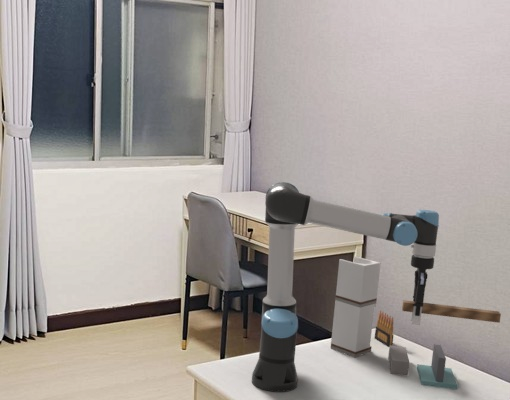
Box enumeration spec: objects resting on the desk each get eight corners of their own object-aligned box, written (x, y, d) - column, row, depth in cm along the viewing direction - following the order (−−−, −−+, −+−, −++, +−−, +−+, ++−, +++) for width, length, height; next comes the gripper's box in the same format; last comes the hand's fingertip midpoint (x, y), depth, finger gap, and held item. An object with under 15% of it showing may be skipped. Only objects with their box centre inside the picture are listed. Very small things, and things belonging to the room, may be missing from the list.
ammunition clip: (392, 347, 276) (395, 317, 275) (388, 347, 276) (391, 317, 274) (378, 338, 286) (381, 309, 284) (374, 338, 285) (377, 309, 284)
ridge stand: (421, 384, 239) (424, 356, 238) (416, 368, 255) (420, 341, 254) (457, 389, 238) (460, 361, 236) (450, 372, 253) (453, 345, 252)
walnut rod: (402, 311, 239) (403, 302, 238) (402, 308, 242) (403, 300, 241) (499, 322, 234) (500, 314, 234) (498, 320, 237) (499, 311, 237)
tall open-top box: (370, 351, 269) (380, 262, 264) (354, 357, 261) (364, 265, 256) (346, 343, 276) (355, 256, 272) (330, 348, 269) (339, 259, 264)
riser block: (390, 373, 247) (392, 360, 247) (388, 358, 263) (389, 345, 262) (407, 375, 246) (409, 362, 246) (404, 360, 262) (405, 347, 262)
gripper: (410, 250, 245) (403, 314, 248) (413, 259, 230) (405, 328, 233) (432, 252, 244) (424, 317, 247) (436, 261, 228) (428, 331, 232)
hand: (415, 322), depth 240 cm, fingers closed on walnut rod, 3 cm apart
